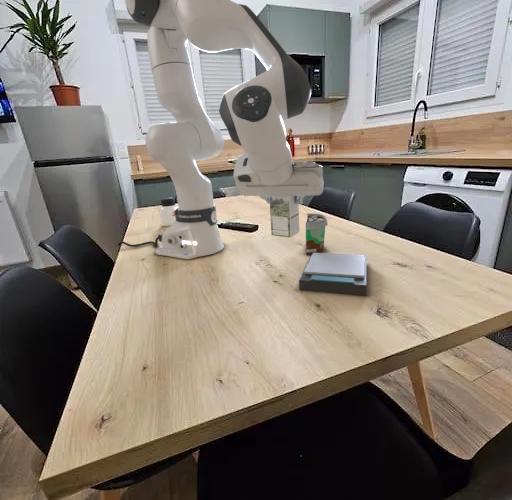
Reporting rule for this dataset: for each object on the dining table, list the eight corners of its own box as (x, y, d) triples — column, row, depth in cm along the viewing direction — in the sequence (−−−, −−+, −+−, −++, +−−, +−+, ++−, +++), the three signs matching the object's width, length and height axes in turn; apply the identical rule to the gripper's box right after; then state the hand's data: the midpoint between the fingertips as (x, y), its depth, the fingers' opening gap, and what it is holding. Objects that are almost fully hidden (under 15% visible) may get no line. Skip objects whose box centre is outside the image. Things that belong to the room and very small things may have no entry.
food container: (328, 256, 84) (328, 222, 81) (306, 256, 85) (305, 222, 82) (327, 243, 95) (327, 212, 92) (307, 243, 97) (307, 213, 93)
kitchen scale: (299, 290, 66) (299, 277, 65) (311, 262, 81) (311, 251, 80) (366, 295, 61) (366, 282, 60) (366, 265, 76) (366, 254, 75)
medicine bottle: (177, 225, 134) (172, 198, 131) (161, 226, 135) (157, 200, 131) (181, 221, 141) (177, 196, 137) (166, 222, 141) (162, 197, 138)
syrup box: (300, 232, 78) (299, 175, 73) (290, 238, 73) (288, 178, 69) (281, 230, 81) (279, 175, 76) (270, 235, 76) (267, 178, 72)
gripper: (323, 150, 61) (327, 190, 73) (232, 155, 68) (250, 191, 80) (320, 174, 59) (325, 212, 70) (226, 177, 65) (245, 211, 77)
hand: (284, 201), depth 75 cm, fingers closed on syrup box, 6 cm apart
